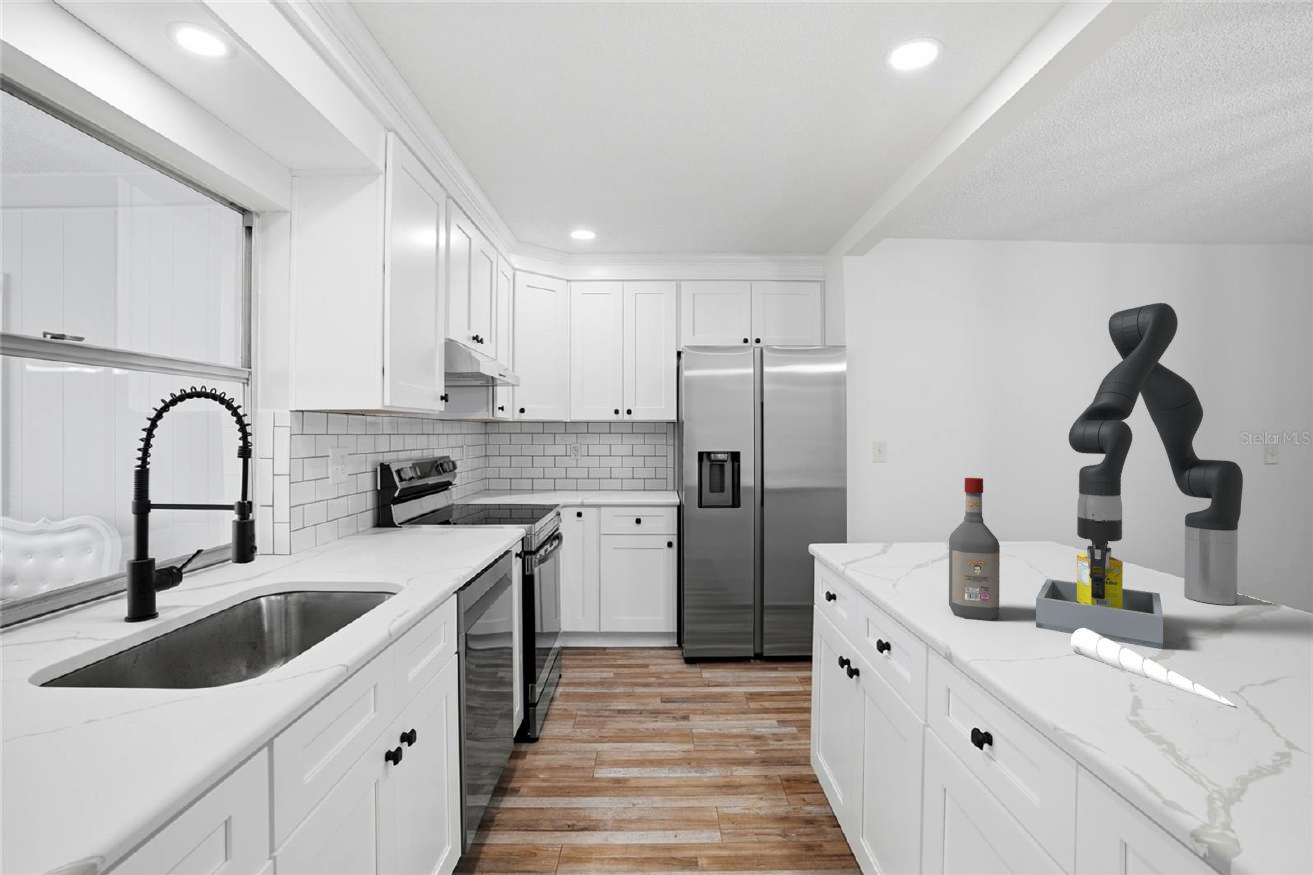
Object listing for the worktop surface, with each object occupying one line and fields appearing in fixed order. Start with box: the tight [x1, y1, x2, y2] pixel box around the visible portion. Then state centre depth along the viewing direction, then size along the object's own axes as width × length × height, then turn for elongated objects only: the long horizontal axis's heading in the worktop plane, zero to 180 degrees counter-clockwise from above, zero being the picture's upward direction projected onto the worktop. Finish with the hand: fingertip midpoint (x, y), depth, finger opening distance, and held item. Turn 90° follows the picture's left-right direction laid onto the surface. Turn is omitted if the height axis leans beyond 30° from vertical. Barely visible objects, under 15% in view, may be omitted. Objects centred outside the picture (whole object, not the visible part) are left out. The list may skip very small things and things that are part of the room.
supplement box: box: [1076, 553, 1124, 609], centre depth 125 cm, size 6×6×11 cm
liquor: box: [948, 477, 1001, 621], centre depth 132 cm, size 9×9×30 cm
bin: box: [1035, 578, 1164, 650], centre depth 125 cm, size 20×20×6 cm
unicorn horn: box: [1070, 628, 1236, 707], centre depth 99 cm, size 5×24×5 cm, turn 14°
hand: (1098, 593), depth 125 cm, fingers closed on supplement box, 8 cm apart
